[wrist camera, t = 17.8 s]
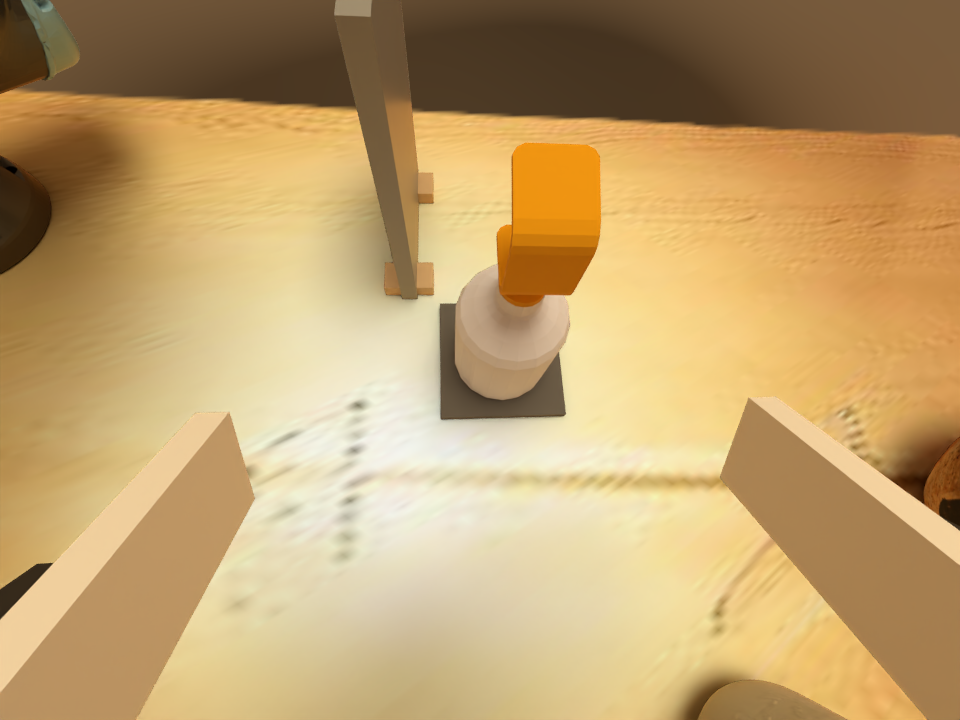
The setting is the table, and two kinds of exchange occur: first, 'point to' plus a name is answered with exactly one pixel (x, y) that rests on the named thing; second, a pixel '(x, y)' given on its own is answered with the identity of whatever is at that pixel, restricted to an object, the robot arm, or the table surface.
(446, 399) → the coaster
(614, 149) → the table surface
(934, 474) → the ceramic vessel
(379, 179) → the divider
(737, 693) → the glass bottle
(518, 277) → the soap bottle
